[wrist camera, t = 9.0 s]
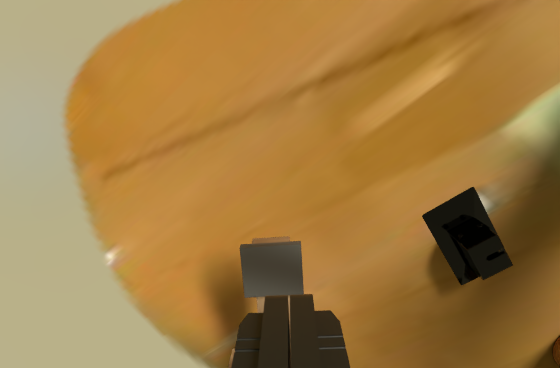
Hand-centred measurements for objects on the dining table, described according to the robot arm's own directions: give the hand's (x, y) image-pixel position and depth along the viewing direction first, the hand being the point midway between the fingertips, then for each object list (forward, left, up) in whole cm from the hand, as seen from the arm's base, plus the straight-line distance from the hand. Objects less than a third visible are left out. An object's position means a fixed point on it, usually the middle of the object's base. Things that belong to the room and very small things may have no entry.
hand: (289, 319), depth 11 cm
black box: (+9, +18, -23) cm, 31 cm away
